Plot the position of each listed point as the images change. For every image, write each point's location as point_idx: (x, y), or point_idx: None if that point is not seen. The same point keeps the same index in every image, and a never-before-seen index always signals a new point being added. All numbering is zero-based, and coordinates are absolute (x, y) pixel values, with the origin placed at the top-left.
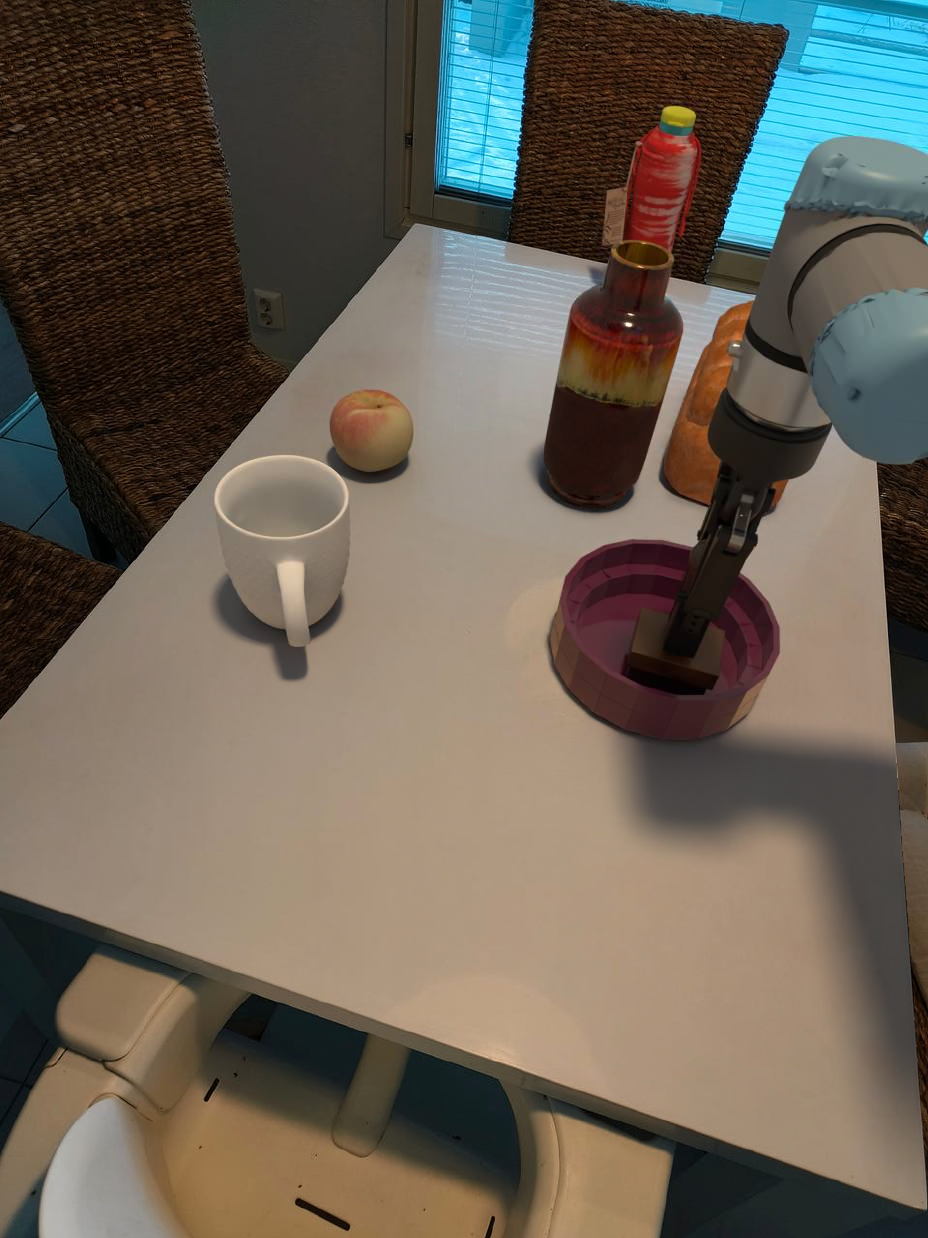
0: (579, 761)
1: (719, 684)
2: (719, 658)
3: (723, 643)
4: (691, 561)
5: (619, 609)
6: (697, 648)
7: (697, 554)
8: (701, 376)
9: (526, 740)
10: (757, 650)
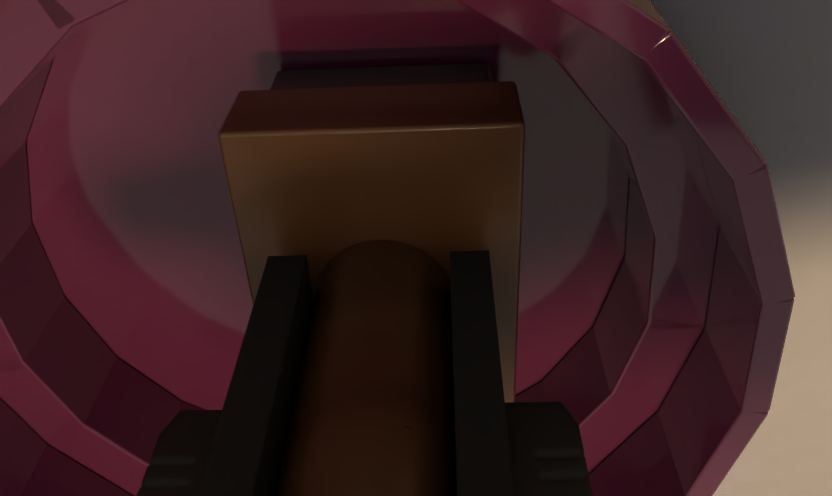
0: (814, 330)
1: (370, 1)
2: (413, 136)
3: (305, 130)
4: None
5: (198, 357)
6: (493, 295)
7: None
8: None
9: (765, 440)
10: None
